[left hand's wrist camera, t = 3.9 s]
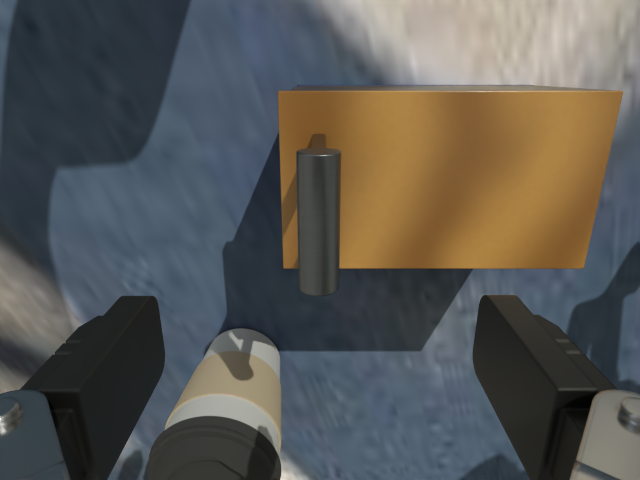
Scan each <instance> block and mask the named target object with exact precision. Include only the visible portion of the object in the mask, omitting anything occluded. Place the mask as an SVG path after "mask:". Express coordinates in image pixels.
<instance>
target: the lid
mask: <svg viewBox="0 0 640 480" xmlns="http://www.w3.org/2000/svg"><path fill="white" fill-rule="evenodd" d="M622 94H623V91H614V90H509V91H278V115H279V146H280V178H281V210H282V241H283V268H298V277H299V289H300V290H301V291H302V292H303V293H305V294H308V295H312V296H326V295H330V294H333V293H335V292H336V291H337V290H338V289H339V268H396V269H583V268H584V264H585V260H586V255H587V251H588V246H589V242H590V237H591V233H592V228H593V224H594V219H595V215H596V210H597V206H598V202H599V197H600V193H601V188H602V184H603V179H604V175H605V170H606V166H607V161H608V157H609V152H610V148H611V143H612V139H613V135H614V130H615V126H616V121H617V117H618V112H619V108H620V103H621V99H622Z"/></svg>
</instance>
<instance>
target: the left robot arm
mask: <svg viewBox="0 0 640 480" xmlns="http://www.w3.org/2000/svg"><path fill="white" fill-rule="evenodd" d="M164 362H165V349H164V342H163V335H162V328H161V321H160V314H159V307H158V302H157V300H156V298H155V297H154V296H121V297H120V298H119V299H118V300H117V301H116V302H115V303H114V305H113V306H112V307H111V308H110V309H109V310H108V311H107V312H106V314H105V315H104V316H97V317H95V318H94V319H92V320H90V321H89V322H87V323H85V324H84V325H82V326H80V327H79V328H78V329H77V330H76V331H75V332H74V333H73V334H72V335H71V336H70V337H69V338H68V339H67V340H66V343H63V344H62V346H61V347H60V348H59V349H58V350H57V351H56V352H55V355H52V356H51V357H50V358H49V359H48V360H47V361H46V362H45V364H44V365H43V366H42V367H41V368H40V369H39V370H38V371H37V372H36V373H35V374H34V375H33V376H32V377H31V378H30V379H29V380H28V382H27V383H26V384H25V385H24V386H23V387H22V388H21V389H20V390H15V391H10V392H6V393H2V394H0V480H107V479H108V477H109V475H110V473H111V471H112V469H113V467H114V465H115V464H116V462H117V460H118V458H119V456H120V454H121V452H122V450H123V448H124V446H125V444H126V442H127V441H128V439H129V437H130V435H131V433H132V431H133V429H134V427H135V425H136V423H137V421H138V420H139V418H140V416H141V414H142V412H143V410H144V408H145V406H146V404H147V402H148V400H149V398H150V397H151V395H152V393H153V391H154V389H155V387H156V385H157V383H158V381H159V379H160V377H161V375H162V372H163V368H164ZM473 364H474V369H475V373H476V375H477V377H478V379H479V381H480V383H481V385H482V387H483V389H484V391H485V393H486V395H487V397H488V399H489V401H490V402H491V404H492V406H493V408H494V410H495V412H496V414H497V416H498V418H499V420H500V422H501V424H502V426H503V428H504V430H505V432H506V433H507V435H508V437H509V439H510V441H511V443H512V445H513V447H514V449H515V451H516V453H517V455H518V457H519V459H520V461H521V463H522V464H523V466H524V468H525V470H526V472H527V474H528V476H529V478H530V480H640V394H638V393H634V392H630V391H625V390H617V389H616V388H615V386H614V385H613V384H612V383H611V382H610V381H609V380H608V379H607V378H606V377H605V376H604V375H603V374H602V373H601V372H600V370H599V369H598V368H597V367H596V366H595V365H594V364H593V363H592V362H591V361H590V360H589V359H588V358H587V357H586V356H585V354H582V353H581V350H580V349H579V348H578V347H577V346H576V345H575V344H574V343H571V339H570V338H569V337H568V336H567V335H566V334H565V333H564V332H563V331H562V330H561V329H560V328H559V327H558V326H557V325H555V324H553V323H552V322H550V321H548V320H547V319H545V318H543V317H541V316H540V315H533V314H532V313H531V312H530V310H529V309H528V308H527V307H526V306H525V305H524V304H523V302H522V301H521V300H520V299H519V298H518V297H517V296H515V295H484V296H483V297H482V298H481V300H480V304H479V310H478V317H477V324H476V331H475V338H474V346H473Z"/></svg>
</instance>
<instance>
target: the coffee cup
mask: <svg viewBox="0 0 640 480" xmlns="http://www.w3.org/2000/svg"><path fill="white" fill-rule="evenodd" d="M280 447H281V385H280V356H279V352H278V350H277V348H276V346H275V345H274V343H273V342H272V341H271V340H270V339H269V338H267V337H266V336H265V335H263V334H261V333H259V332H257V331H254V330H251V329H243V328H239V329H232V330H228V331H226V332H223V333H222V334H220V335H219V336H217V337H216V338H215V339H214V341H213V342H212V344H211V345H210V347H209V349H208V351H207V353H206V355H205V357H204V358H203V360H202V362H201V363H200V364H199V365H198V367H197V368H196V370H195V371H194V373H193V375H192V377H191V379H190V380H189V382H188V384H187V386H186V388H185V390H184V391H183V393H182V395H181V397H180V399H179V400H178V402H177V404H176V406H175V408H174V410H173V411H172V413H171V415H170V417H169V419H168V421H167V423H166V427H165V430H164V431H163V432H162V433H161V434H160V435H159V437H158V438H157V439H156V440H155V442H154V444H153V446H152V448H151V451H150V455H149V461H148V465H147V476H148V480H280V477H281V463H280V459H279V452H280Z"/></svg>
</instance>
